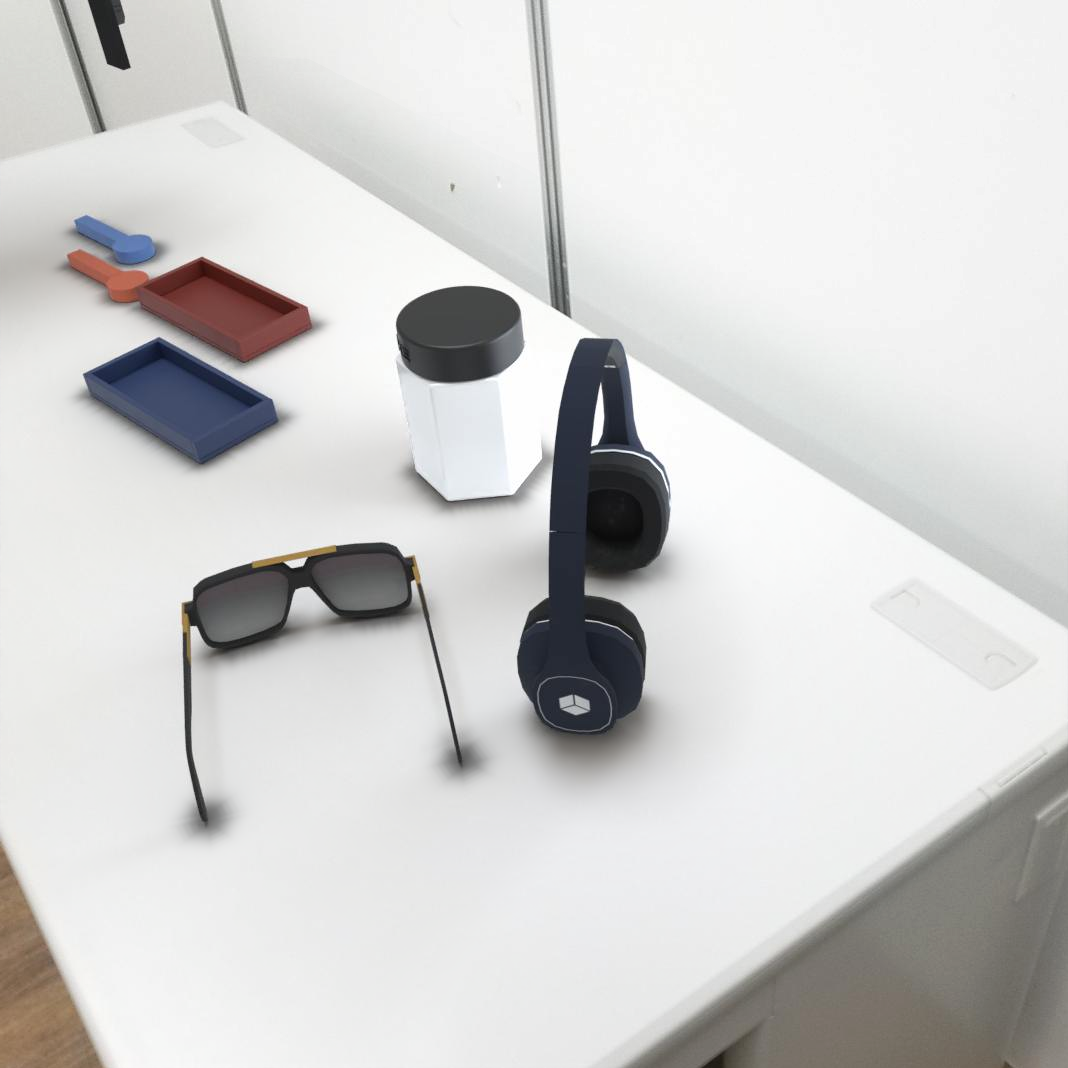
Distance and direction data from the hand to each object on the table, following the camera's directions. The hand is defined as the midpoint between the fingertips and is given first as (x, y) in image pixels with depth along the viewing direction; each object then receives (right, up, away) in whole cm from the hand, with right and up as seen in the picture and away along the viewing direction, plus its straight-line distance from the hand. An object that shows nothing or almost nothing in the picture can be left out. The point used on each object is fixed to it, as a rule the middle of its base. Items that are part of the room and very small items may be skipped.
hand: (49, 90), depth 106 cm
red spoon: (+3, -15, +5) cm, 16 cm away
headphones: (+47, -46, -31) cm, 73 cm away
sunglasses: (+31, -49, -34) cm, 68 cm away
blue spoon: (+1, -10, +11) cm, 15 cm away
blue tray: (+15, -29, -11) cm, 34 cm away
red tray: (+15, -20, -1) cm, 25 cm away
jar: (+39, -34, -18) cm, 55 cm away
